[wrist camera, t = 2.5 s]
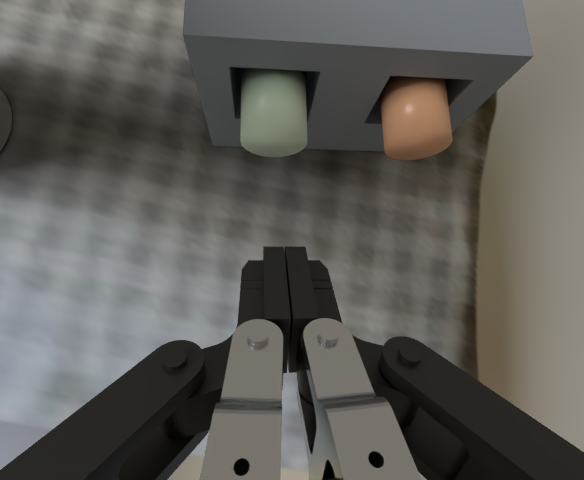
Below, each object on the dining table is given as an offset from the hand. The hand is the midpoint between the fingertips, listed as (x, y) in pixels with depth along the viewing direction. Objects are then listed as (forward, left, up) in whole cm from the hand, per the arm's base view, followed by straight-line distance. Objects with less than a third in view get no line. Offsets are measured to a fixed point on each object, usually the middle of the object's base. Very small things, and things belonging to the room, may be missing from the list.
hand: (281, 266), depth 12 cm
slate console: (-9, +13, -13) cm, 20 cm away
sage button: (-8, +7, -8) cm, 13 cm away
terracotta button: (-2, +14, -8) cm, 16 cm away
